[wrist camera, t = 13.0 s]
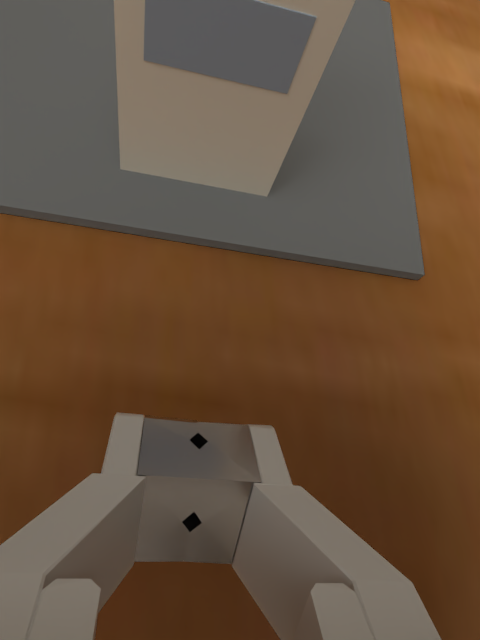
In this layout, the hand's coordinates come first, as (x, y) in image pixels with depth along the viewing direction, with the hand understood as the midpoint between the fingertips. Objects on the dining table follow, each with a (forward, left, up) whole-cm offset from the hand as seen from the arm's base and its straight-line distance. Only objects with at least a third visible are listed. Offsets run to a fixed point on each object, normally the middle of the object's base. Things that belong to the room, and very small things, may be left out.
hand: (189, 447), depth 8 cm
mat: (0, +17, -6) cm, 18 cm away
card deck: (0, +12, -6) cm, 14 cm away
